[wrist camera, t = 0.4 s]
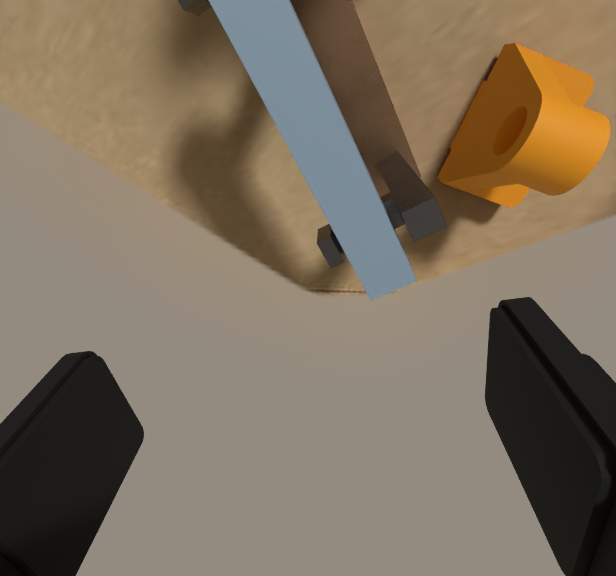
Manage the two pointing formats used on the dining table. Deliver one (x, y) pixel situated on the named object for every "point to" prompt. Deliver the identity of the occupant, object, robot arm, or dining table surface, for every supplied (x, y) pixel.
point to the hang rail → (317, 136)
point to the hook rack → (362, 117)
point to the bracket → (526, 131)
